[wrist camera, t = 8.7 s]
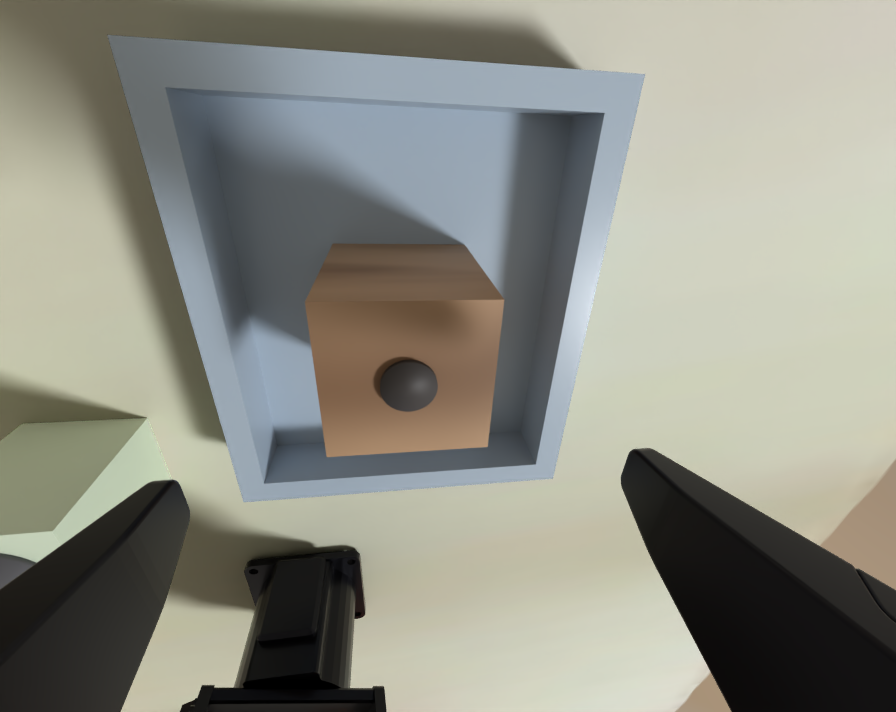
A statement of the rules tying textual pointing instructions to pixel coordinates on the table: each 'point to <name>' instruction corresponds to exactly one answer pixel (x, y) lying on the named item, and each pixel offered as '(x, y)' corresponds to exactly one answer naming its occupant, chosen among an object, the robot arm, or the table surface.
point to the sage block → (67, 482)
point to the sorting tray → (375, 229)
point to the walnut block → (403, 348)
